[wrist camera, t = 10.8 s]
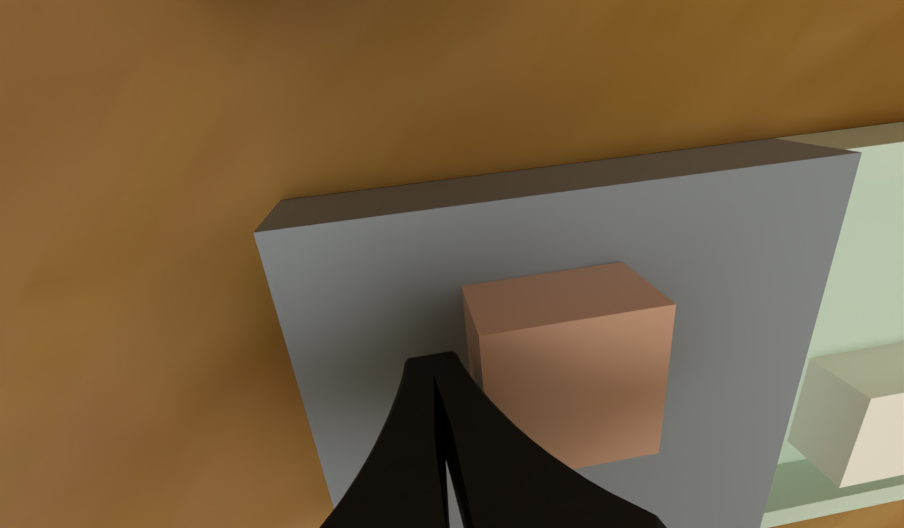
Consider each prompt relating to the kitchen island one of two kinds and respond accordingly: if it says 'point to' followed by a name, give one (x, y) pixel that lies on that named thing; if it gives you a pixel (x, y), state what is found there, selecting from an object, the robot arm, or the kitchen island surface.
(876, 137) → the tray
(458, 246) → the slate board
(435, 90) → the kitchen island surface
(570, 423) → the peach square block
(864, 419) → the tile
